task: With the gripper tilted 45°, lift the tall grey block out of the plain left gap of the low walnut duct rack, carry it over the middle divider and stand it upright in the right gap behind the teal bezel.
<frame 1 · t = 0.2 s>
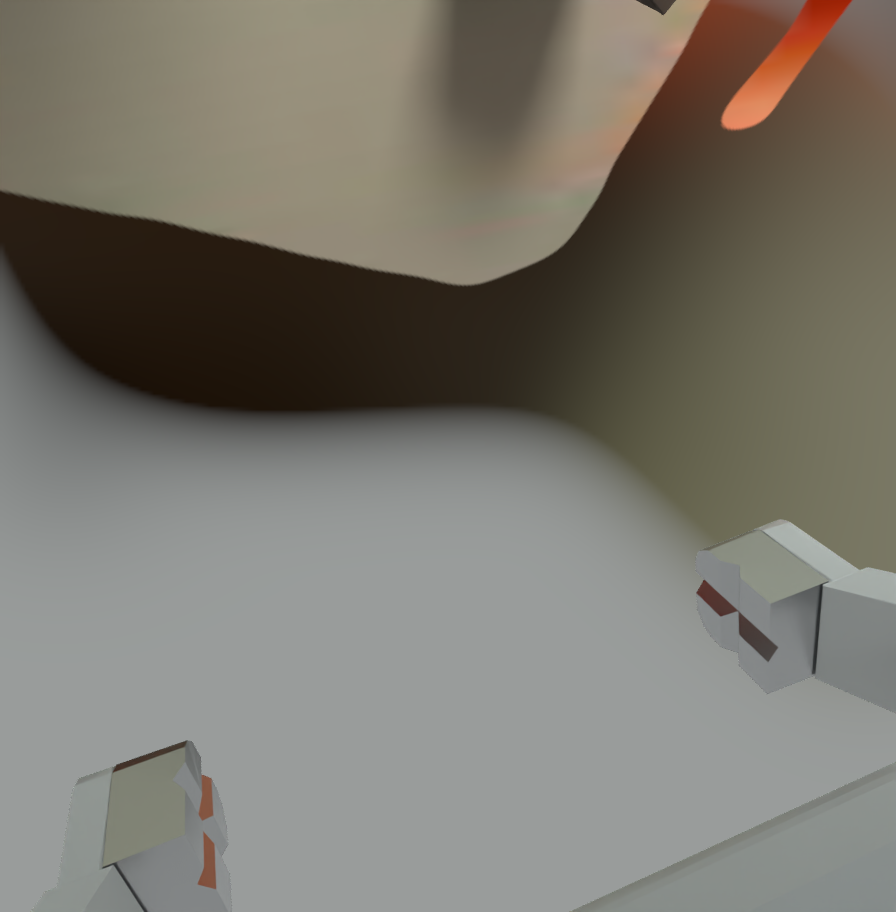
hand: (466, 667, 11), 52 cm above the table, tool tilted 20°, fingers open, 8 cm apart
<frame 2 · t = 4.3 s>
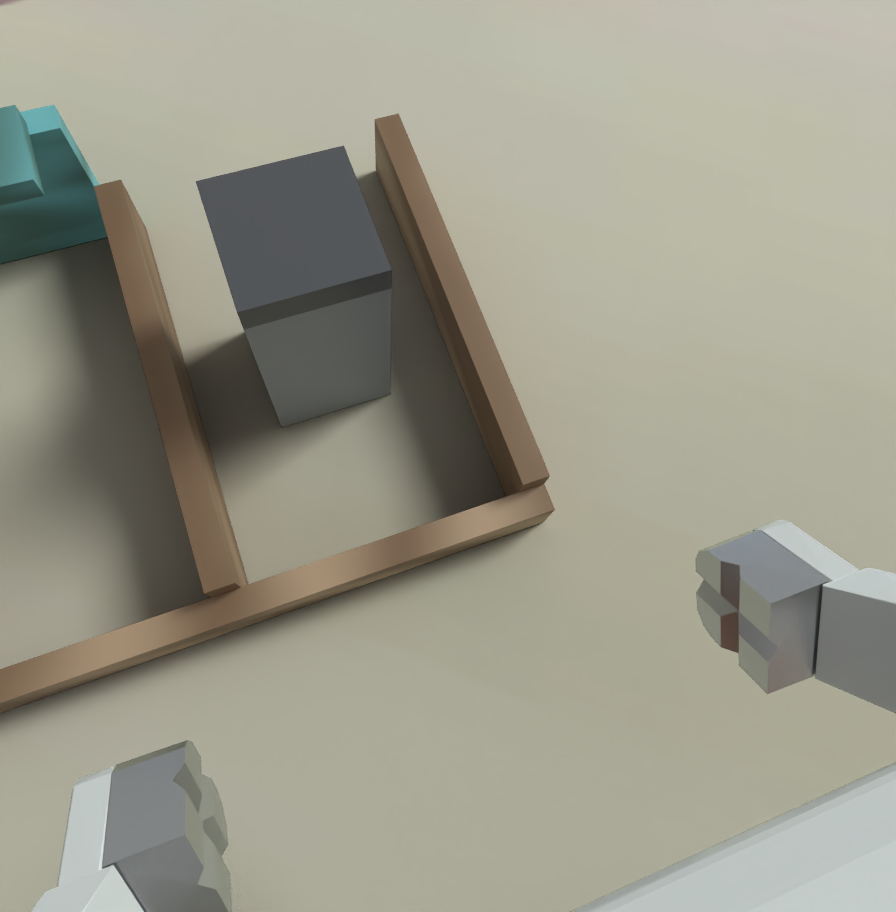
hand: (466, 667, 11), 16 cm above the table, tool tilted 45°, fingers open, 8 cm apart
tall grey block: (320, 361, 30), resting in duct rack
duct rack: (181, 401, 29), on the table
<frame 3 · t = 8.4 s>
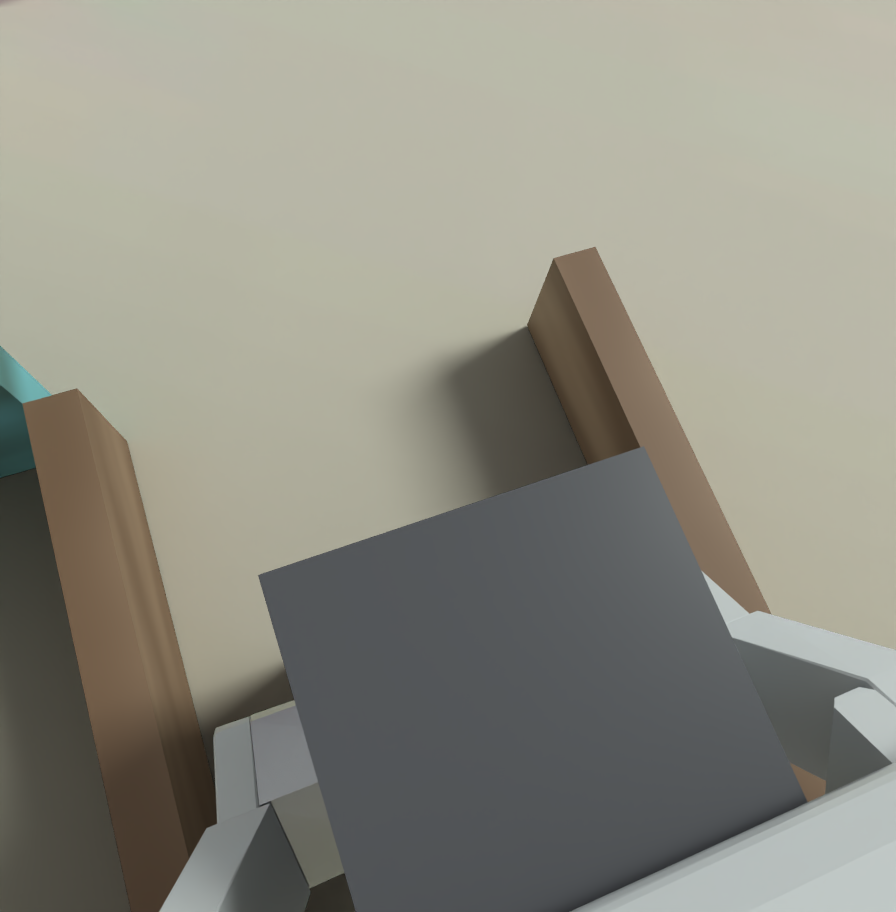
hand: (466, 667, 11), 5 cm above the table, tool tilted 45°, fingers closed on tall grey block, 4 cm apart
tall grey block: (451, 708, 16), resting in duct rack, touching gripper
duct rack: (192, 809, 15), on the table
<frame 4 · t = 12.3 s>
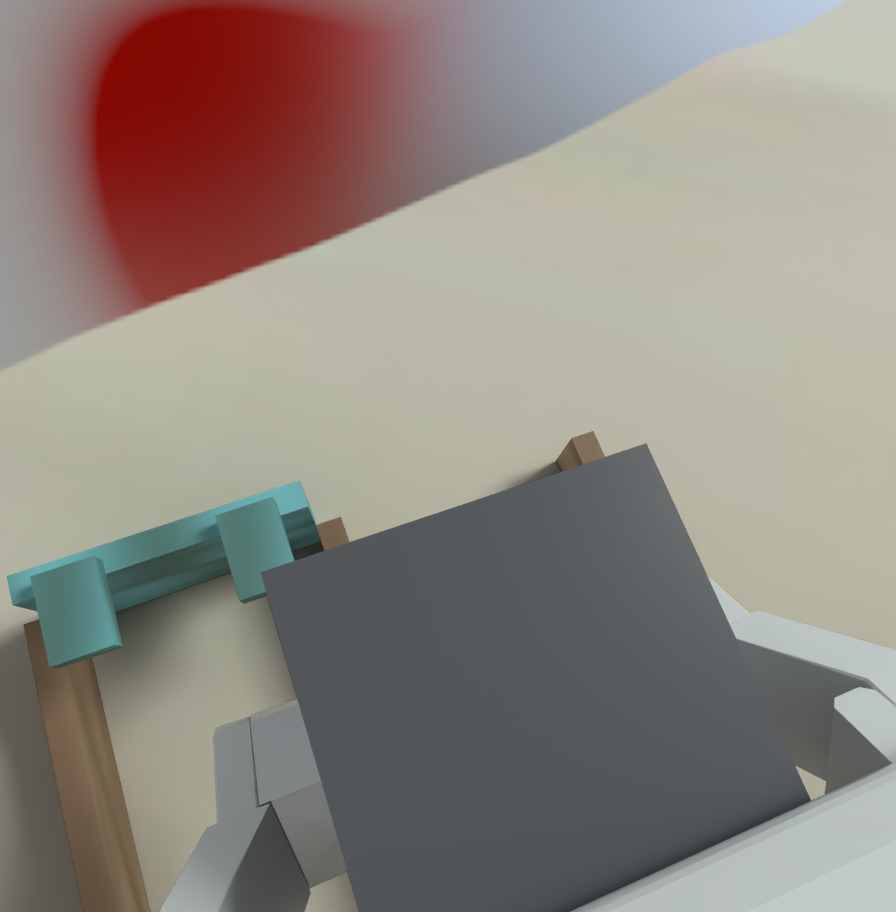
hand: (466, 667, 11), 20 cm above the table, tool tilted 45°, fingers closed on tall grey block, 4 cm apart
tall grey block: (452, 706, 16), point 15 cm above the table, touching gripper
duct rack: (395, 722, 30), on the table
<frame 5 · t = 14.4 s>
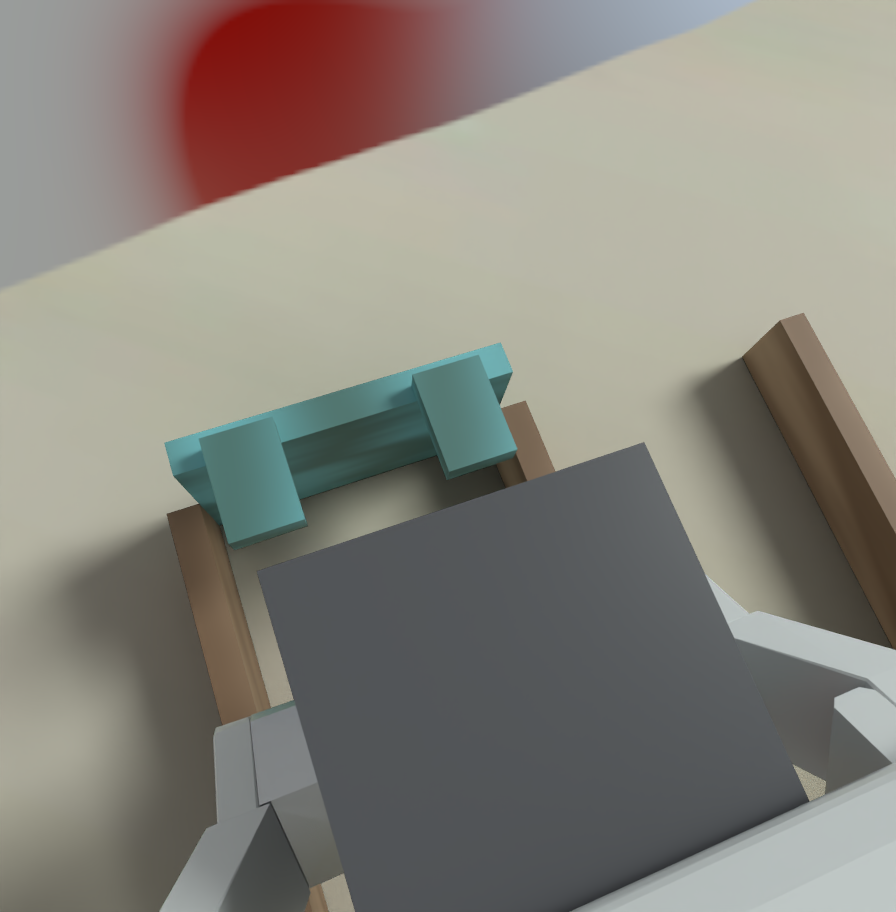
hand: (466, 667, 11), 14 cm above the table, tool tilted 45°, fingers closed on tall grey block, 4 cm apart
tall grey block: (450, 706, 16), point 9 cm above the table, touching gripper
duct rack: (582, 642, 26), on the table
when the fingers open (6 cm above the table, at t = 16.4 s): tall grey block drops 2 cm, resting in duct rack.
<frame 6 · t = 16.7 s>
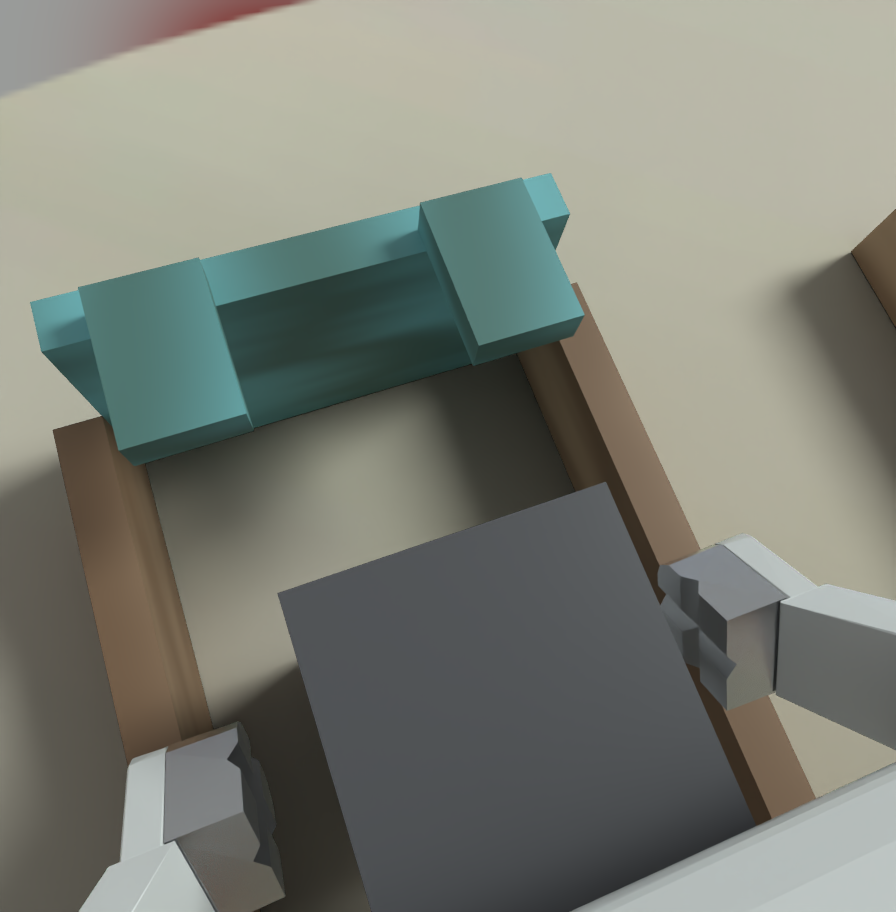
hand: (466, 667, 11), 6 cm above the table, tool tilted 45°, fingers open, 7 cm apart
tall grey block: (444, 706, 17), resting in duct rack
duct rack: (653, 626, 18), on the table
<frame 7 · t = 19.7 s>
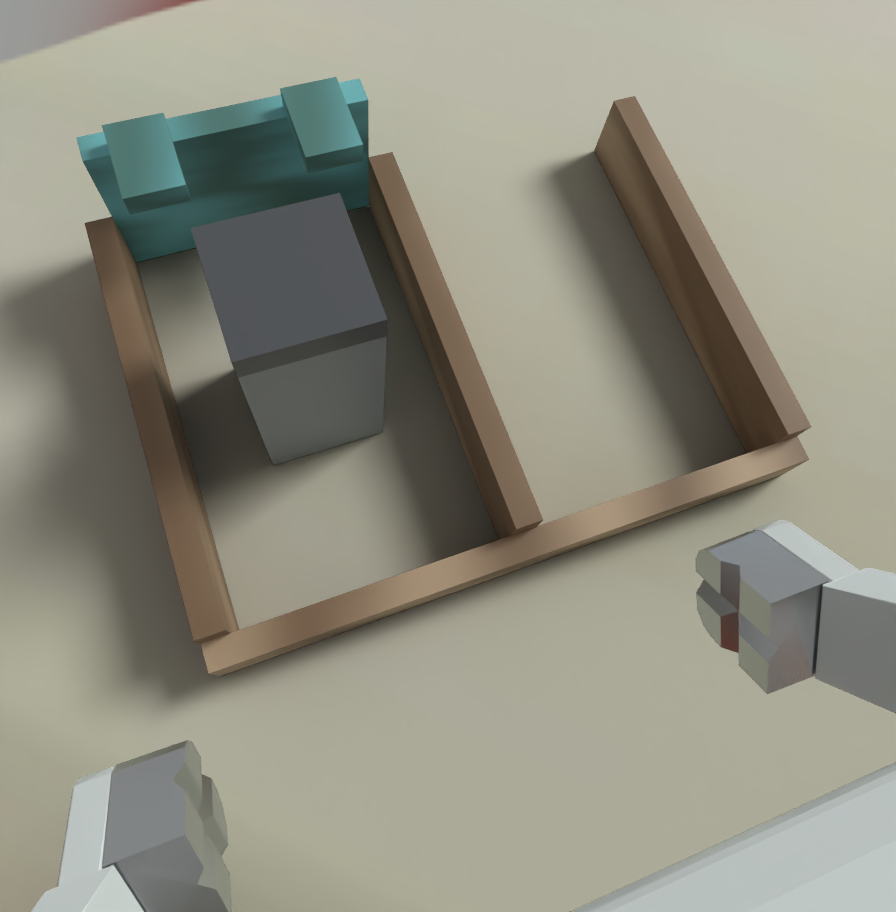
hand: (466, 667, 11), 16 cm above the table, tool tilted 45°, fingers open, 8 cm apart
tall grey block: (312, 398, 29), resting in duct rack
duct rack: (442, 360, 30), on the table
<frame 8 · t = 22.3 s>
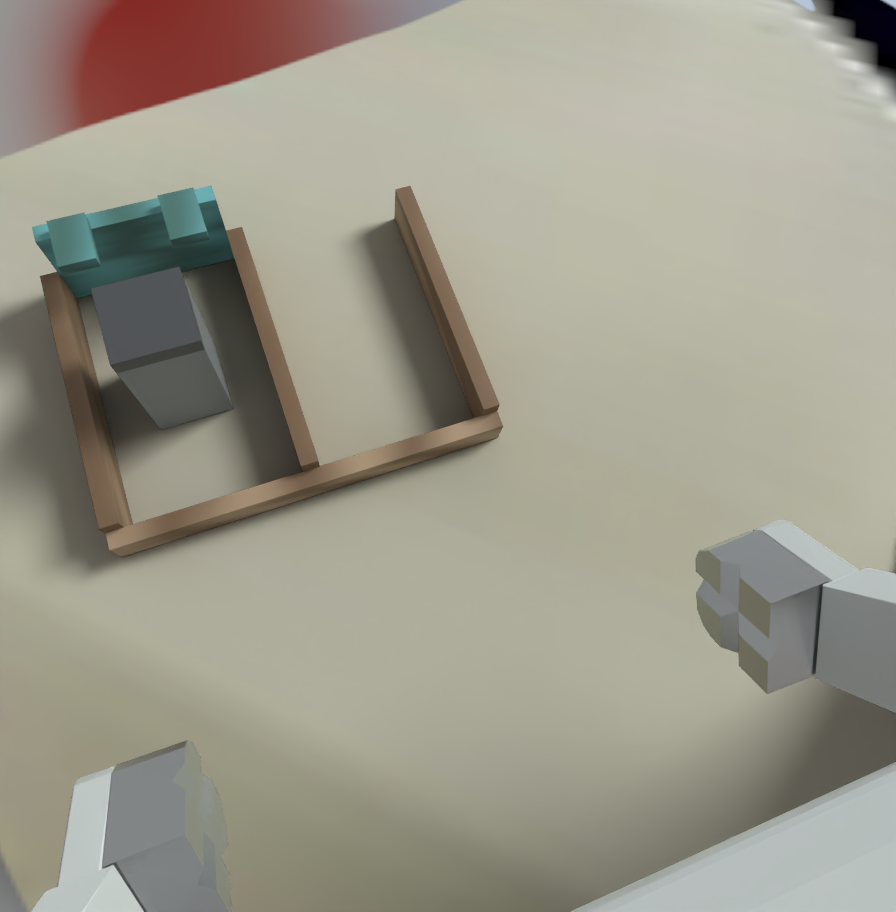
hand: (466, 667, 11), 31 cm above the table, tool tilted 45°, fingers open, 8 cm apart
tall grey block: (188, 387, 46), resting in duct rack
duct rack: (276, 362, 47), on the table
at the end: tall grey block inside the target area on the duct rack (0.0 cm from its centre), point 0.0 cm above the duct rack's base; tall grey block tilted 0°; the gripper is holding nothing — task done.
